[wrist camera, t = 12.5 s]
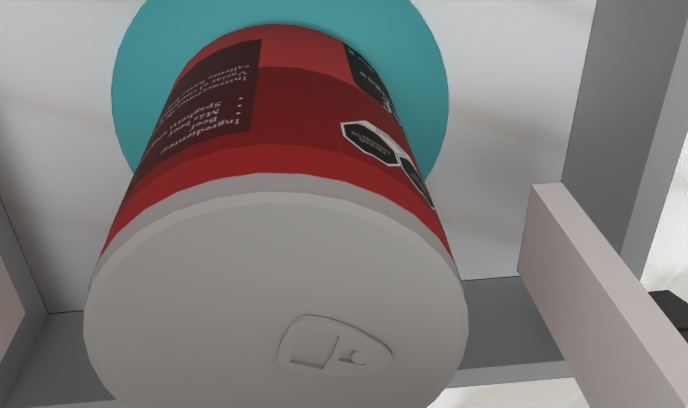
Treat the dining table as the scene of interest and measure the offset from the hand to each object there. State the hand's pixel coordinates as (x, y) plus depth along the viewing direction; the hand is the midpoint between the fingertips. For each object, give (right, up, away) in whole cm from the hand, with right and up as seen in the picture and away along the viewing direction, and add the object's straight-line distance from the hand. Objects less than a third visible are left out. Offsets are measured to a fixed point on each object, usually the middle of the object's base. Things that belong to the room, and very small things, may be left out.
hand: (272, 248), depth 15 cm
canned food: (0, +4, +7) cm, 8 cm away
